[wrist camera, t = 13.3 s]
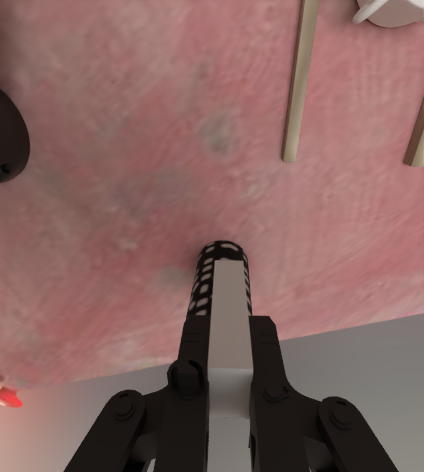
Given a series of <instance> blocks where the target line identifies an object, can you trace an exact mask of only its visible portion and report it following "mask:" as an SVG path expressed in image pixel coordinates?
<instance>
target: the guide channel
mask: <svg viewBox="0 0 424 472" xmlns="http://www.w3.org/2000/svg"><path fill="white" fill-rule="evenodd" d="M318 7H319V0H302V3H301V11H300V19H299V26H298V34H297V42H296V49H295V57H294V65H293V73H292V80H291V88H290V96H289V104H288V111H287V119H286V127H285V135H284V142H283V150H282V158H281V159H282V160H283V162H295V159H296V152H297V146H298V139H299V133H300V126H301V119H302V113H303V106H304V99H305V93H306V86H307V80H308V73H309V66H310V60H311V53H312V47H313V40H314V33H315V27H316V20H317V14H318ZM403 163H404V164H407V165H409V166H414V167H423V166H424V100H423V103H422V106H421V109H420V112H419V115H418V119H417V122H416V125H415V128H414V131H413V134H412V137H411V140H410V143H409V146H408V150H407V153H406V156H405V159H404V162H403Z"/></svg>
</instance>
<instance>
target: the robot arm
mask: <svg viewBox="0 0 424 472" xmlns="http://www.w3.org/2000/svg"><path fill="white" fill-rule="evenodd" d="M28 156H29V137H28V132H27V129H26V126H25V123H24V121H23V119H22V117H21V115H20V113H19V111H18V110H17V108H16V107H15V105H14V104H13V102H12V101H11V100H10V99H9V98H8V96H7V95H6V94H5V93H4V92H3V91H2V90H0V183H3V182H5V181H8V180H10V179H12V178H14V177H16V176H17V175H18V174H19V173H20V172H21V171H22V170H23V168H24V167H25V165H26V163H27V160H28ZM167 377H168V385H167V386H166V387H164V388H163V389H161V390H159V391H156V392H153V393H150V394H146V395H143V396H142V395H141V393H139V392H137V391H136V390H124V391H120V392H119V393H117V394H116V395H114V396H112V397H111V399H110V400H109V401H108V402H107V403H106V405H105V407H104V408H103V410H102V411H101V413H100V414H99V416H98V417H97V419H96V421H95V422H94V424H93V426H92V427H91V429H90V430H89V432H88V434H87V435H86V437H85V438H84V440H83V441H82V443H81V445H80V446H79V448H78V449H77V451H76V452H75V454H74V456H73V457H72V459H71V461H70V462H69V464H68V465H67V467H66V468H65V470H64V472H147V469H148V467H149V465H150V462H151V460H152V459H155V458H156V460H155V466H154V471H153V472H207V462H208V442H209V417H223V418H246V419H249V416H250V436H249V448H250V452H251V468H252V472H310V469H311V472H399V471H398V470H397V468H396V467H395V465H394V464H393V462H392V460H391V459H390V458H389V456H388V454H387V453H386V452H385V450H384V448H383V447H382V445H381V444H380V442H379V441H378V439H377V437H376V436H375V434H374V433H373V431H372V430H371V428H370V427H369V425H368V424H367V422H366V420H365V419H364V417H363V416H362V414H361V413H360V411H358V409H357V408H356V407H355V406H354V405H353V404H352V403H350V402H349V401H347V400H346V399H343V398H340V397H327V398H325V399H323V400H322V402H320V401H317V400H315V399H312V398H309V397H306V396H304V395H302V394H300V393H299V392H297V391H296V390H295V389H294V388H293V387H292V386H291V385H290V383H289V382H288V380H287V377H286V375H285V370H284V365H283V360H282V355H281V350H280V345H279V340H278V337H277V330H276V325H275V324H274V322H273V321H272V320H271V318H270V317H269V316H248V307H247V297H246V286H245V275H244V265H243V261H222V260H215V267H214V281H213V296H212V310H211V315H190V316H189V317H188V318H187V320H186V321H185V323H184V326H183V332H182V337H181V343H180V348H179V354H178V359H177V360H176V361H174V362H173V363H172V364H171V366H170V367H169V369H168V372H167ZM309 467H310V469H309Z"/></svg>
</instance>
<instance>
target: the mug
mask: <svg viewBox="0 0 424 472" xmlns="http://www.w3.org/2000/svg"><path fill="white" fill-rule="evenodd" d="M357 2H358V5H359V7H360V10H359V11H358V12H357V13H356V14H355V15H354V17H353V23H354V24H359V23H361V22H362V21H364V20H365V19H366V18H367V19H368V20H369V21H371V22H372V23H374V24H376V25H378V26H381V27H387V28H393V27H400V26H404V25H407V24H410V23H413V22H416V21H417V22H420V21H423V20H424V0H357Z"/></svg>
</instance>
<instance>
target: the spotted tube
mask: <svg viewBox="0 0 424 472" xmlns="http://www.w3.org/2000/svg"><path fill="white" fill-rule="evenodd" d="M215 260H222V261H243V265H244V275H245V286H246V297H247V307H248V316H252V306H251V294H250V282H249V270H248V259H247V256H246V253H245V252H244V250H243V249H242V248H241V247H240V246H239V245H237V244H235V243H233V242H230V241H215V242H212V243H210V244H208V245H207V246H206V247H204V248H203V250H202V251H201V253H200V255H199V259H198V264H197V269H196V274H195V278H194V283H193V288H192V293H191V298H190V302H189V307H188V312H187V317H186V320H187V318H188V317H189V316H190V315H211V310H212V296H213V281H214V267H215Z"/></svg>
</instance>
